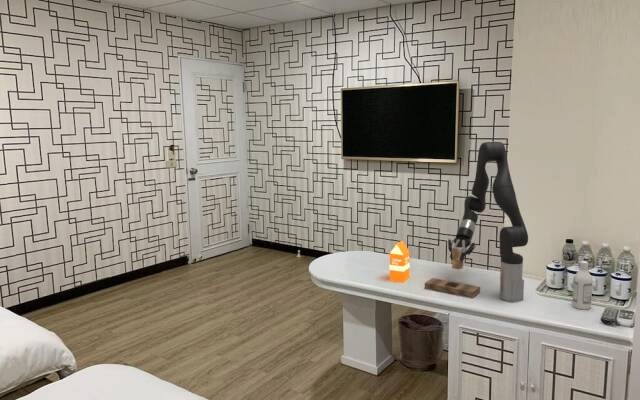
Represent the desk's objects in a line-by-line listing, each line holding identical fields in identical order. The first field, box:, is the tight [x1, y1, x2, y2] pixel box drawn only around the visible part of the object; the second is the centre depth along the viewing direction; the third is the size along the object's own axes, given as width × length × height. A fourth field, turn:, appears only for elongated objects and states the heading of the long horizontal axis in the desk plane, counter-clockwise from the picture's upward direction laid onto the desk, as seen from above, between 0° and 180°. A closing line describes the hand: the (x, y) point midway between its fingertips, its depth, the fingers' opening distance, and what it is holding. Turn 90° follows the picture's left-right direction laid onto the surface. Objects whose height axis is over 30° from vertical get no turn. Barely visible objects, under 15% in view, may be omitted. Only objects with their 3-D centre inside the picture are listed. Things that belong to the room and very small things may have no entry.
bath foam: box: [571, 260, 593, 311], centre depth 200 cm, size 7×7×20 cm
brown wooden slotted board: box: [424, 277, 481, 299], centre depth 226 cm, size 24×9×3 cm, turn 52°
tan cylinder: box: [451, 246, 464, 270], centre depth 229 cm, size 4×4×10 cm
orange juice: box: [389, 240, 411, 284], centre depth 244 cm, size 8×9×20 cm
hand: (456, 259), depth 228 cm, fingers closed on tan cylinder, 4 cm apart
